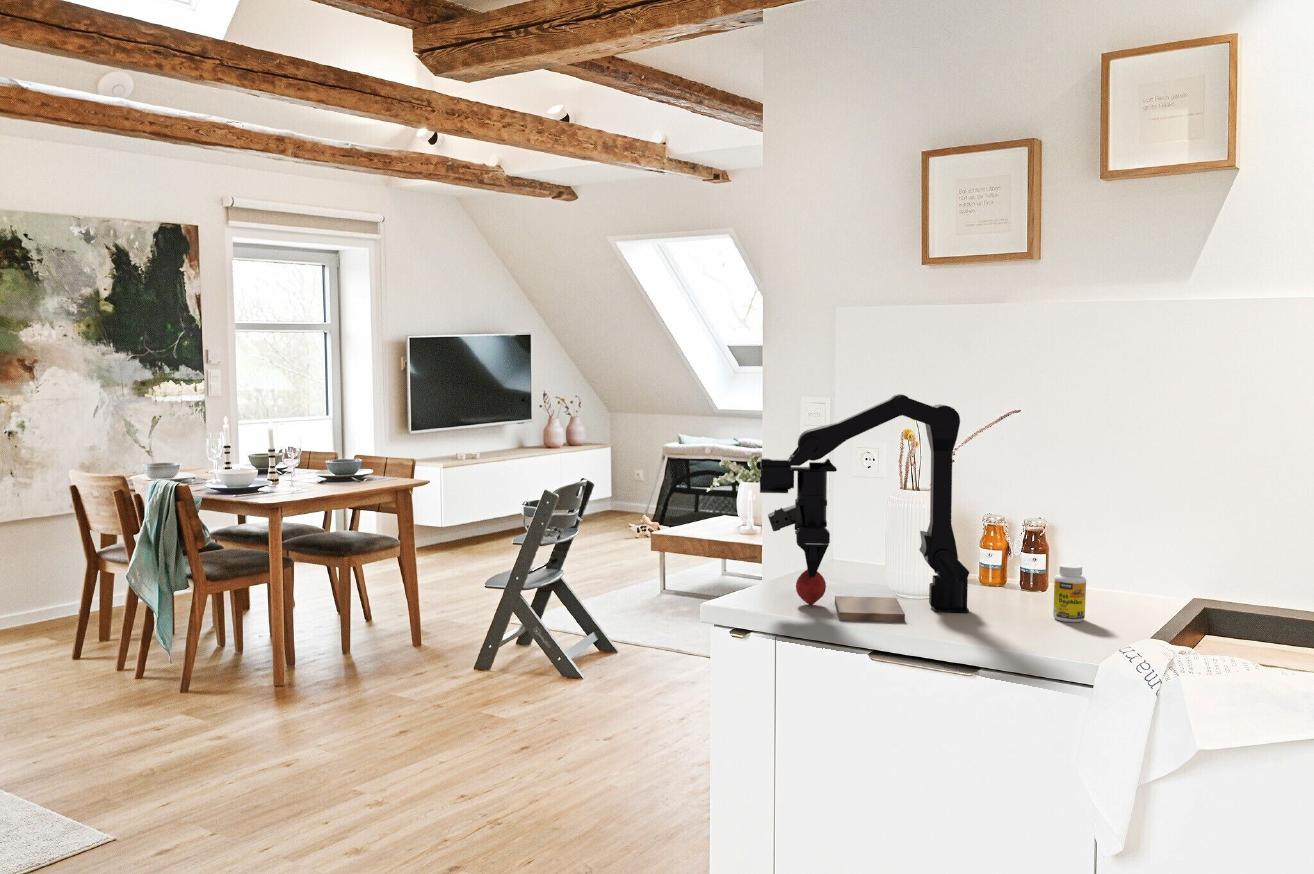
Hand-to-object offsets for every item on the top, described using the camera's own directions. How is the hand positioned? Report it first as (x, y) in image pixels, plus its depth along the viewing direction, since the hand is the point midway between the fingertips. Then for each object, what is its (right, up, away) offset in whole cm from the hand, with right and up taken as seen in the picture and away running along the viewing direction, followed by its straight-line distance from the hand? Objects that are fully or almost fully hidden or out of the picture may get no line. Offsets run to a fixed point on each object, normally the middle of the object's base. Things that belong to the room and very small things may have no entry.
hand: (810, 572), depth 213 cm
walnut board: (+10, -7, -6) cm, 14 cm away
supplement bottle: (+47, -8, -10) cm, 49 cm away
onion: (0, -7, 0) cm, 7 cm away
